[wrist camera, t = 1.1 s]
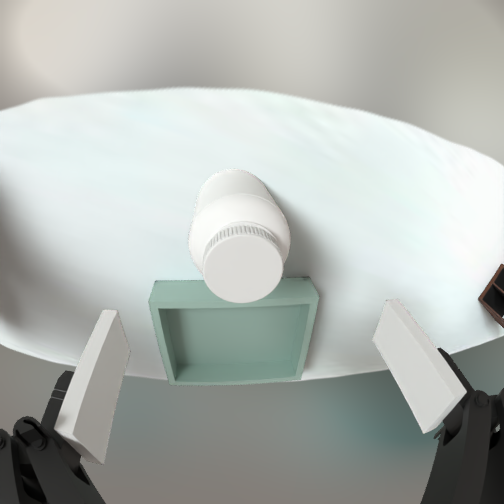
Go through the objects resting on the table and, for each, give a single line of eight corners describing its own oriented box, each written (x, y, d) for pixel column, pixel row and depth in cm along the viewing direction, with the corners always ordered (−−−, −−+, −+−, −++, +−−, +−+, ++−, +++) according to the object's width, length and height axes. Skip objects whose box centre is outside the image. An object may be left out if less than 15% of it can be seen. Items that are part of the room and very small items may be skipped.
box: (172, 363, 42) (169, 385, 38) (155, 280, 35) (148, 301, 31) (294, 358, 44) (300, 379, 40) (309, 276, 37) (319, 296, 33)
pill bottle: (219, 246, 33) (221, 334, 20) (184, 189, 30) (156, 249, 17) (279, 215, 32) (321, 287, 19) (248, 154, 29) (272, 185, 16)
